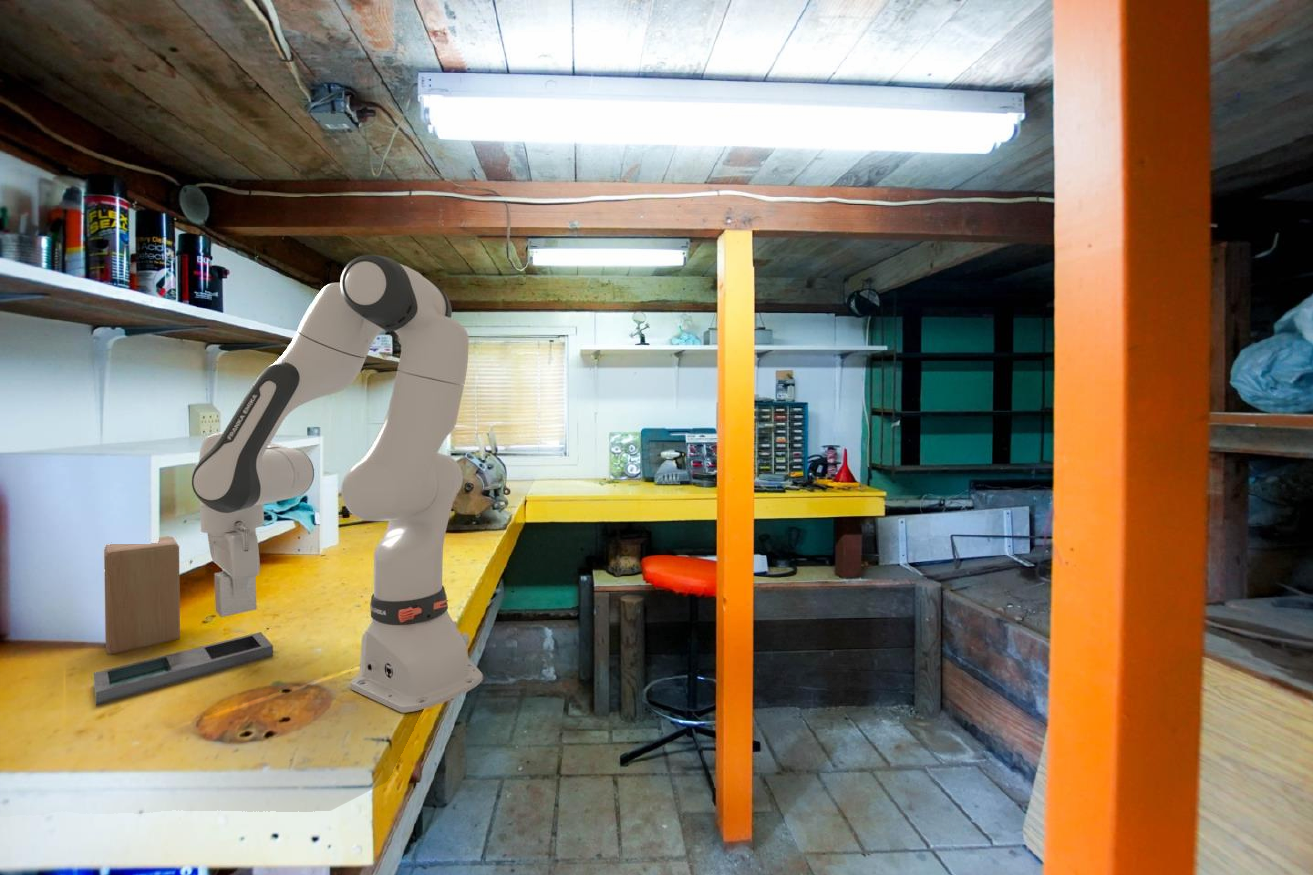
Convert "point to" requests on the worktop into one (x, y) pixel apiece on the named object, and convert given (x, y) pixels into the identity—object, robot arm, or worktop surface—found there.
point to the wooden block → (141, 594)
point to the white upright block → (225, 598)
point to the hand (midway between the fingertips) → (235, 593)
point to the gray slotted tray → (179, 667)
